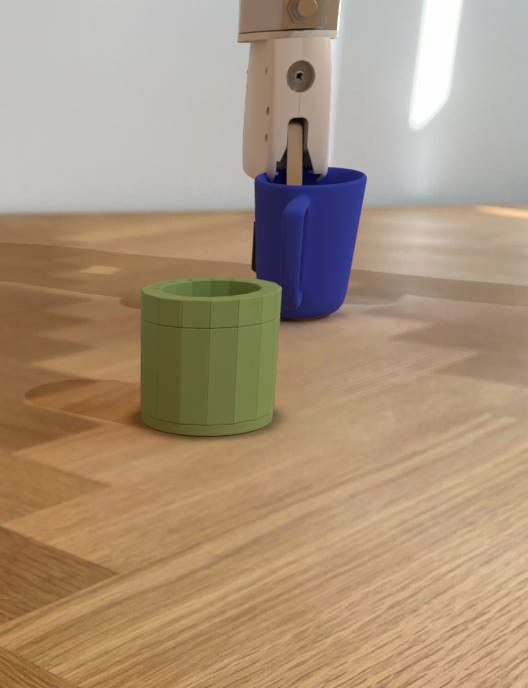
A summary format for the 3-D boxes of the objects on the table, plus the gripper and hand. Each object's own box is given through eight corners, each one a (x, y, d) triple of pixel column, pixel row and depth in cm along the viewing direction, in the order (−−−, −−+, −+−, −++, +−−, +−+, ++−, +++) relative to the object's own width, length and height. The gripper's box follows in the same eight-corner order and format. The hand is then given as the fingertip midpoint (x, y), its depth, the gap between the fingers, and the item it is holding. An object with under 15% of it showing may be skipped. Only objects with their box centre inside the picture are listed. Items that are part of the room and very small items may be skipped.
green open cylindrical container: (255, 397, 62) (262, 274, 59) (287, 432, 56) (296, 296, 52) (133, 403, 62) (133, 280, 59) (151, 439, 55) (152, 303, 52)
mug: (228, 337, 79) (234, 195, 73) (257, 294, 88) (264, 166, 83) (340, 343, 76) (355, 197, 71) (358, 298, 86) (372, 166, 80)
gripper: (368, 10, 73) (342, 285, 81) (311, 23, 86) (293, 258, 94) (261, 14, 72) (246, 289, 81) (220, 26, 86) (211, 261, 94)
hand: (271, 272), depth 88 cm, fingers closed
